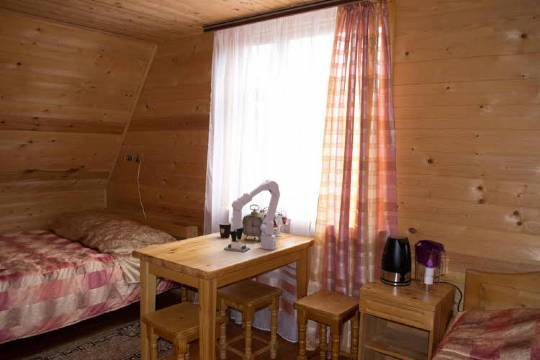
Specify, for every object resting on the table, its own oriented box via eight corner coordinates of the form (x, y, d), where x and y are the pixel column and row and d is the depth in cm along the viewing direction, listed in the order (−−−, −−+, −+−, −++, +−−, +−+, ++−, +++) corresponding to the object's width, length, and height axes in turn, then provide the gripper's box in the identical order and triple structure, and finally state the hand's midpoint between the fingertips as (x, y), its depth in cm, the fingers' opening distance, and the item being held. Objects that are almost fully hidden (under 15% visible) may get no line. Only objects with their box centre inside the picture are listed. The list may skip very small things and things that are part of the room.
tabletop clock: (241, 240, 312) (242, 204, 310) (246, 237, 321) (247, 202, 318) (261, 242, 308) (262, 206, 306) (265, 239, 317) (266, 204, 314)
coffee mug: (216, 236, 321) (216, 223, 320) (226, 235, 326) (227, 221, 325) (225, 240, 311) (225, 225, 310) (235, 238, 317) (236, 224, 316)
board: (250, 249, 288) (250, 244, 288) (244, 252, 279) (244, 247, 279) (230, 246, 293) (230, 242, 292) (223, 249, 284) (224, 245, 284)
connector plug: (241, 247, 287) (241, 239, 287) (238, 249, 283) (238, 241, 283) (234, 246, 289) (234, 239, 288) (231, 248, 285) (231, 240, 285)
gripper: (236, 217, 293) (235, 237, 294) (226, 220, 279) (225, 242, 280) (246, 218, 290) (245, 238, 291) (236, 221, 277) (236, 243, 278)
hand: (236, 240), depth 286 cm, fingers open, 7 cm apart
